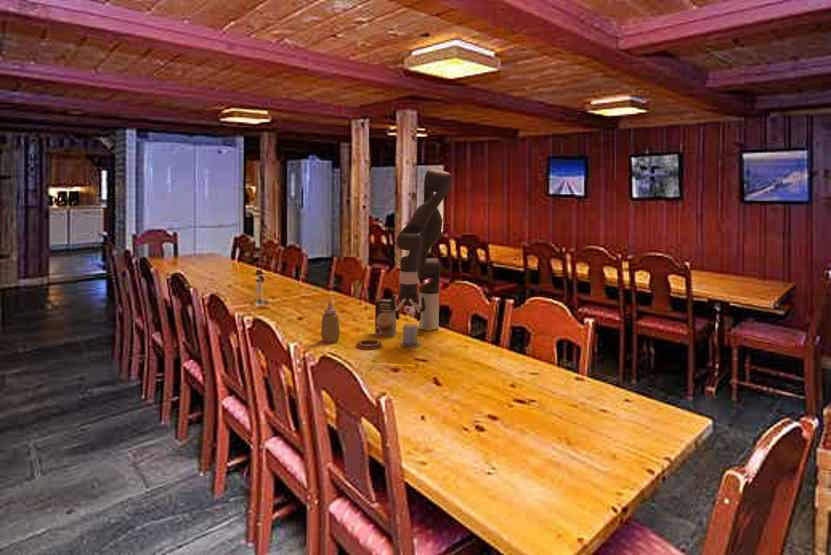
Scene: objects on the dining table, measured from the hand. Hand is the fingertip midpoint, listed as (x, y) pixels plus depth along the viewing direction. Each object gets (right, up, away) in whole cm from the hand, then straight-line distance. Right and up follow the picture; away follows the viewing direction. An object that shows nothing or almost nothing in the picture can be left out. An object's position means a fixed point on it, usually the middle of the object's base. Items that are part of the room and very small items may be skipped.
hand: (408, 320), depth 231 cm
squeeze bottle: (-33, -10, +5) cm, 35 cm away
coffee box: (-10, -8, +18) cm, 23 cm away
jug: (0, -11, -1) cm, 11 cm away
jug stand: (-16, -11, -2) cm, 20 cm away
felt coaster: (+1, -11, +1) cm, 11 cm away
